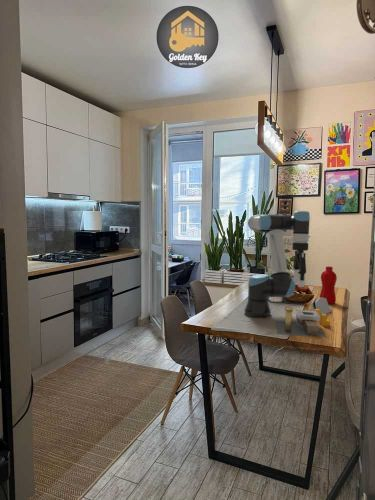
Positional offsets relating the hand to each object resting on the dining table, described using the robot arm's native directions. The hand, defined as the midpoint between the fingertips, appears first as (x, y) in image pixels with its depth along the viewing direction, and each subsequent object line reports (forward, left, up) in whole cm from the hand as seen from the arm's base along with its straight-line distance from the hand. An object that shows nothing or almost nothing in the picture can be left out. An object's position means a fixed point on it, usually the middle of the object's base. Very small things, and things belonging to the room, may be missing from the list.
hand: (298, 284), depth 174 cm
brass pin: (-5, -6, -23) cm, 24 cm away
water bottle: (+29, +67, -24) cm, 77 cm away
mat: (+1, +1, -24) cm, 24 cm away
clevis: (+6, +1, -23) cm, 24 cm away
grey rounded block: (+20, +39, -24) cm, 50 cm away
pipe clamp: (+15, +15, -24) cm, 32 cm away
